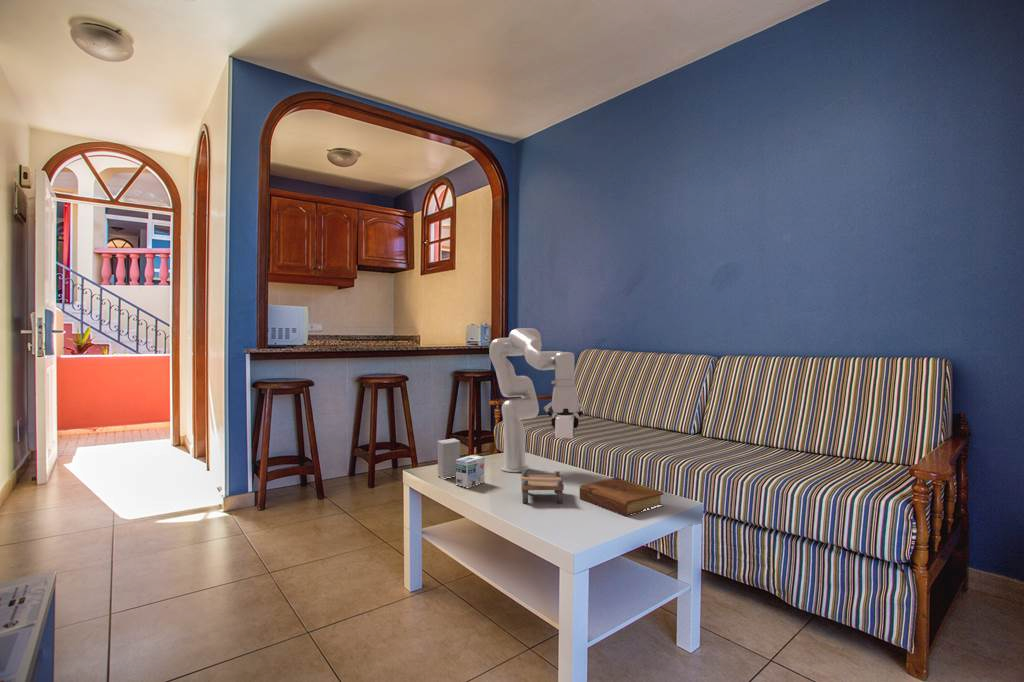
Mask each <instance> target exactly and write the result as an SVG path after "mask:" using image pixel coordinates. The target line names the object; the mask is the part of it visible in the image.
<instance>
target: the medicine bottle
mask: <svg viewBox="0 0 1024 682" xmlns="http://www.w3.org/2000/svg"><path fill="white" fill-rule="evenodd" d="M573 416H574V413H570V412H569V411H568V409H566V408H565V409H563V412H562V413H557V414H556V417H555V419H556V420H555V429H554V431H555V434H554V435H555V436H554V437H555V438H557V439H574V437H575V427H574V418H575V416H574V417H573Z"/></svg>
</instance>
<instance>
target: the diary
mask: <svg viewBox="0 0 1024 682" xmlns="http://www.w3.org/2000/svg"><path fill="white" fill-rule="evenodd" d="M663 495H664V491H662V490H658V489H655V488H652V487H648V486H645V485H642V484H638V483H635V482H633V481H629V480H625V479H622V478H619V477H612V478H608V479H603V480H602V479H601V480H598V481H593V482H588V483H583V484H581V485H580V487H579V499H580V500H581V501H584V502H587V503H589V502H590V504H593V505H595V506H597V505H598V506H597V507H600V506H601V507H600V508H603V509H605V508H606V510H608V509H609V510H608V511H610V510H611V512H613V511H614V512H613V513H616V512H617V513H616V514H618V513H619V514H618V515H621V514H622V515H621V516H623V515H625V516H624V517H626V516H627V515H631V514H634V513H638V512H641V511H643V510H644V509H646V510H647V508H649V509H651V507H654V506H657V505H662V504H661V499H662V498H661V496H663ZM638 514H639V513H638ZM634 515H635V514H634ZM631 516H632V515H631ZM627 517H628V516H627Z"/></svg>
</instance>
